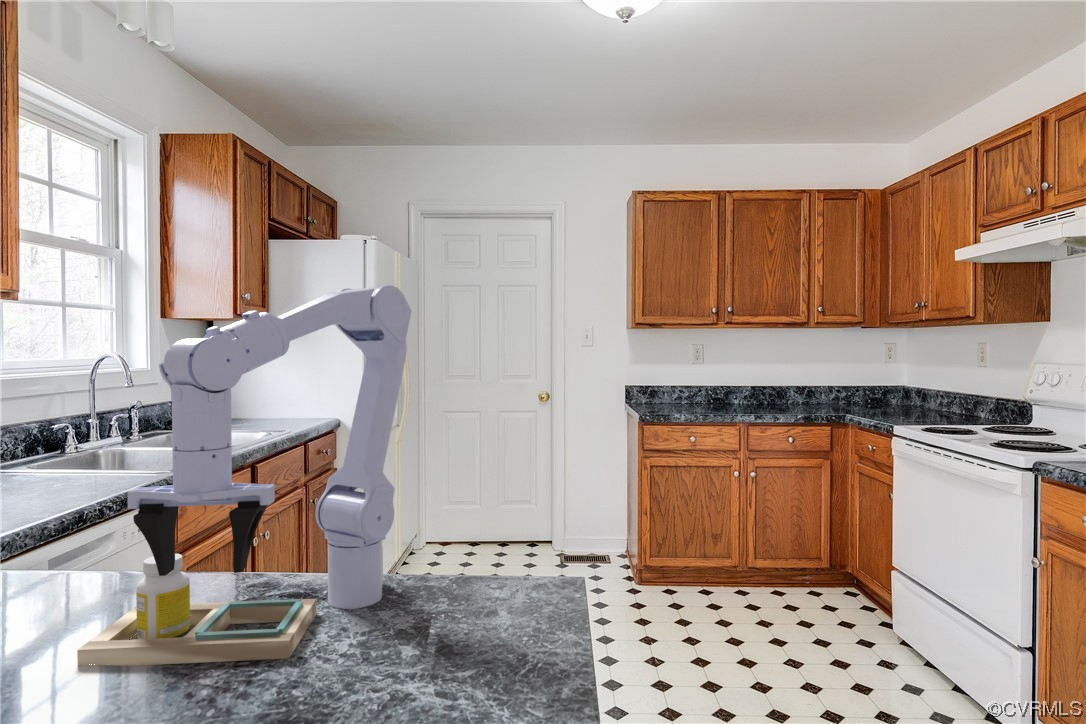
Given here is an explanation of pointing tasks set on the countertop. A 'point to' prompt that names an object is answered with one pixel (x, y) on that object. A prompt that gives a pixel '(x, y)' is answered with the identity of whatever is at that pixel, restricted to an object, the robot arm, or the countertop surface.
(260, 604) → the panel
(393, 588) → the countertop surface
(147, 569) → the supplement bottle
